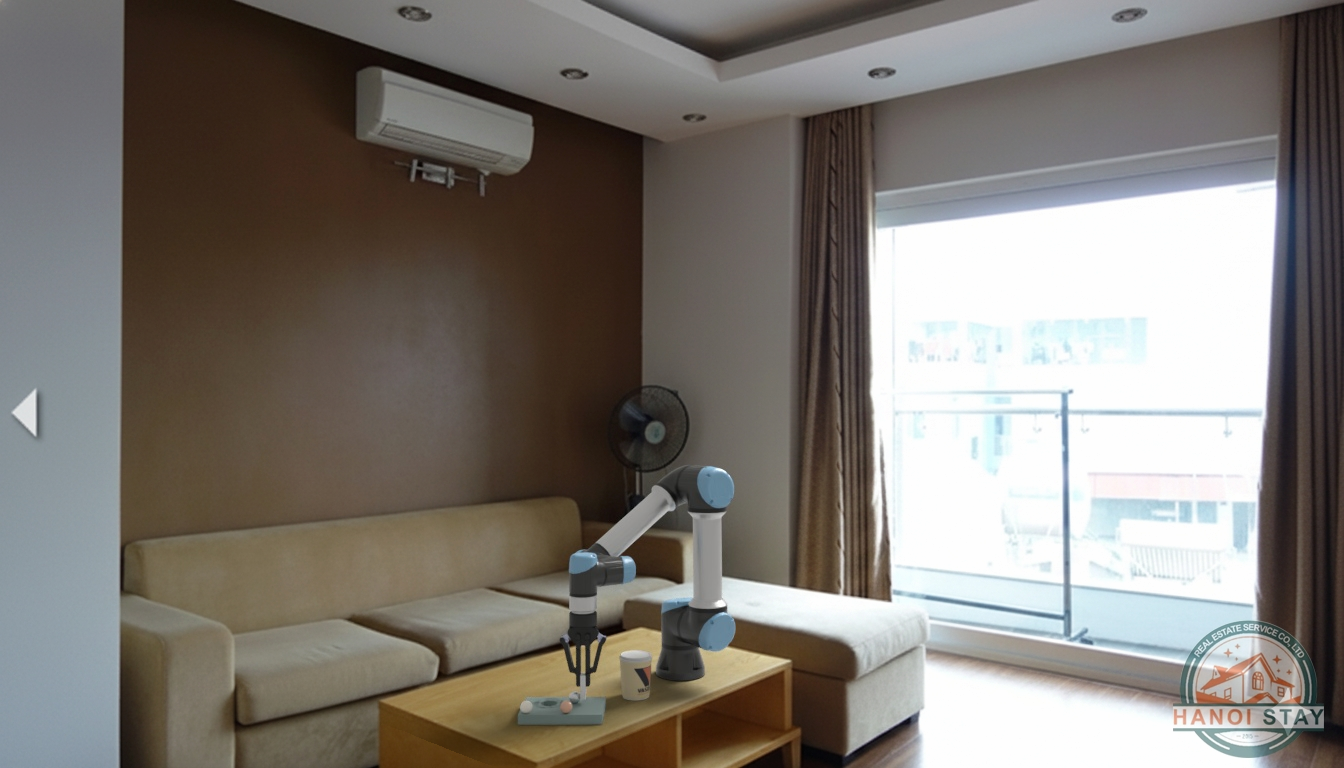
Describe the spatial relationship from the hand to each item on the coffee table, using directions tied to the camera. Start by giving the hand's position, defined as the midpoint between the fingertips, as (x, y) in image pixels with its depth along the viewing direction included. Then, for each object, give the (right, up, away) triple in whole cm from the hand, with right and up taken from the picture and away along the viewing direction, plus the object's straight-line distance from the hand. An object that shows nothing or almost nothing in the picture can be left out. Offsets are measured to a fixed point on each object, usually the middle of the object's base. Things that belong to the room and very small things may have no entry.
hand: (583, 698), depth 258 cm
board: (-5, -4, -2) cm, 7 cm away
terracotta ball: (-4, 0, -8) cm, 9 cm away
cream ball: (-14, 0, -8) cm, 16 cm away
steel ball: (-2, 0, 0) cm, 2 cm away
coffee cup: (+14, -4, +14) cm, 20 cm away
